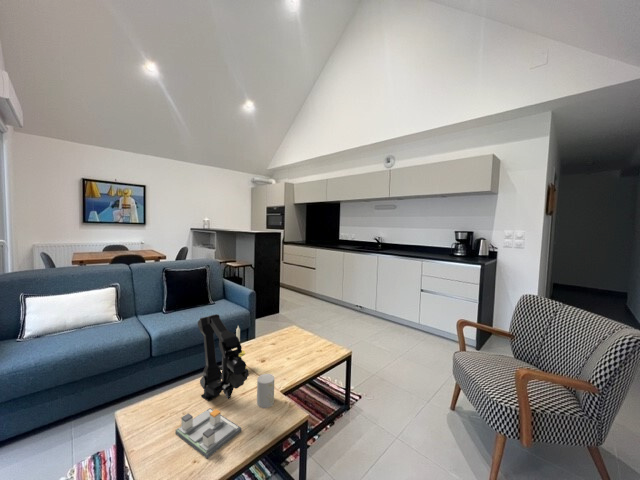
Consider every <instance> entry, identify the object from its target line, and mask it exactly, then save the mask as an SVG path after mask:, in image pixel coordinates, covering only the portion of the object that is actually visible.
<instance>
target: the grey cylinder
mask: <svg viewBox="0 0 640 480" xmlns="http://www.w3.org/2000/svg"><path fill="white" fill-rule="evenodd" d="M256 380H257V381H256V383H257V384H256V405H257V407H259V408H262V409H267V408H271V406H273V405H274V404H275V403H274V402H275V375H273V374H271V373H263V374H260V375H258V376H257V379H256Z"/></svg>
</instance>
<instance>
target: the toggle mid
mask: <svg viewBox="0 0 640 480" xmlns="http://www.w3.org/2000/svg"><path fill="white" fill-rule="evenodd" d="M213 410H214V411H212V412H211V413H210V423H211V424H213V425H216V424H217V423H218V422H220V415H221V411H220V410H218V409H217V408H216V409H213Z"/></svg>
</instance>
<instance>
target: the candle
mask: <svg viewBox="0 0 640 480" xmlns="http://www.w3.org/2000/svg"><path fill="white" fill-rule="evenodd" d="M235 330H236V331H235V332H236V333H235V335H236V336H237V337H238V339H239V341H240V342H241V328H240V326H239V325H237V328H236V329H235ZM236 349H237V348H235V350H236ZM241 350H242V349H241ZM245 354H246V351H245V350H242V353H239V356H240V357H241V358H242V357H244V356H245ZM245 369H247V367H246V368H245Z"/></svg>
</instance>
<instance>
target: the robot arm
mask: <svg viewBox="0 0 640 480" xmlns="http://www.w3.org/2000/svg"><path fill="white" fill-rule="evenodd" d="M197 327H198V329H199V332H200V333H201V335H203V347H204V357H205V366H204V368H203V370H202V377H200V379H199V383H200V384H199V385H200V386H201V388H202V389H203V394H201V395H200V397H201V398H203V399H204V400H206V401H208V402H210V401H211V400H213V399H215V398H217V397H219V396H220V394H222V393H224V395H225V397H226V399H227V400H231V397H232V395H233V391H234V389H235V390H237V389H239V388H240V387H241V386H244V384H245V382H246V381H247V380H248V377H249V376H250V373H249V372H250V371H249V369H247V364H246V361H244V359H243V358H242V357H240V356H239V353H242V347H243V346H242V345H241V340H240V341H239V339H238V337H237V336H236V333H234V332H232V331H229V330H228V328H227V327H226V325H225V324H224V323H223V320H221V317H220V314H216V313H215V314H212V315H208V316H204V317H200V318H199V320H198V321H197ZM214 334H215V335H216V336H217V338H218V340H219V341H218V347H219V350H220V352H221V353H220V354H221V366H219V365H218V364H217V357H216V347H215V337H214V336H215V335H214ZM236 348H237V349H236ZM245 368H246V369H245Z"/></svg>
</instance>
